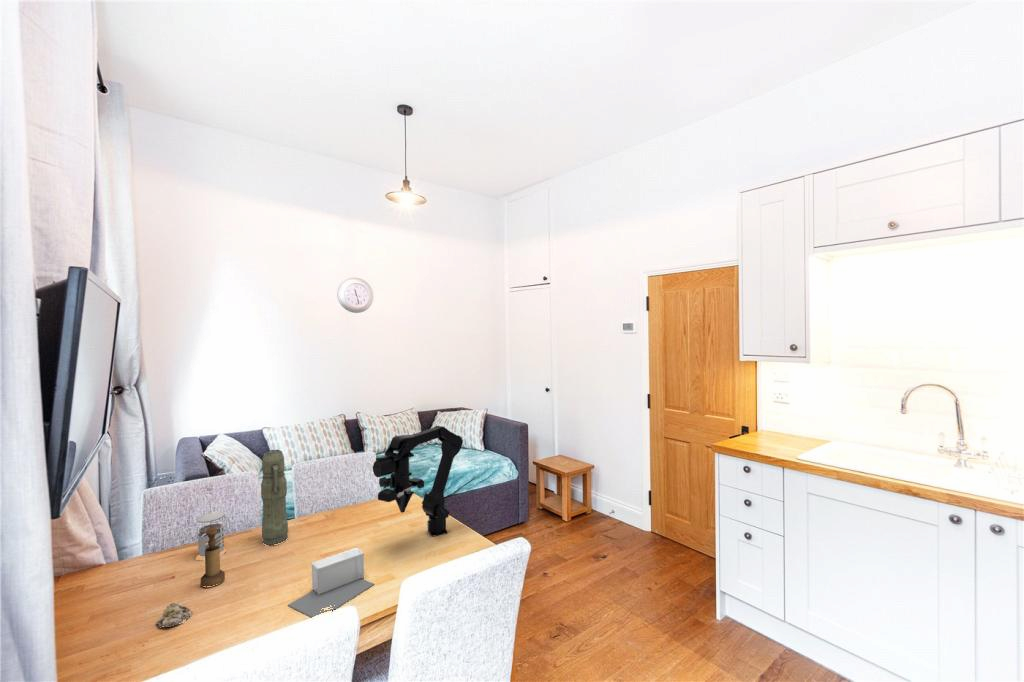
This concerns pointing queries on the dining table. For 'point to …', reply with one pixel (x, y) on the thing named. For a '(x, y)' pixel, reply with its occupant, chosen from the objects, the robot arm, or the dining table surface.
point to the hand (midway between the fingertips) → (402, 512)
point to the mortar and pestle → (212, 561)
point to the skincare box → (337, 570)
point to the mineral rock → (174, 615)
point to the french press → (209, 518)
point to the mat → (329, 598)
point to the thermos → (274, 498)
